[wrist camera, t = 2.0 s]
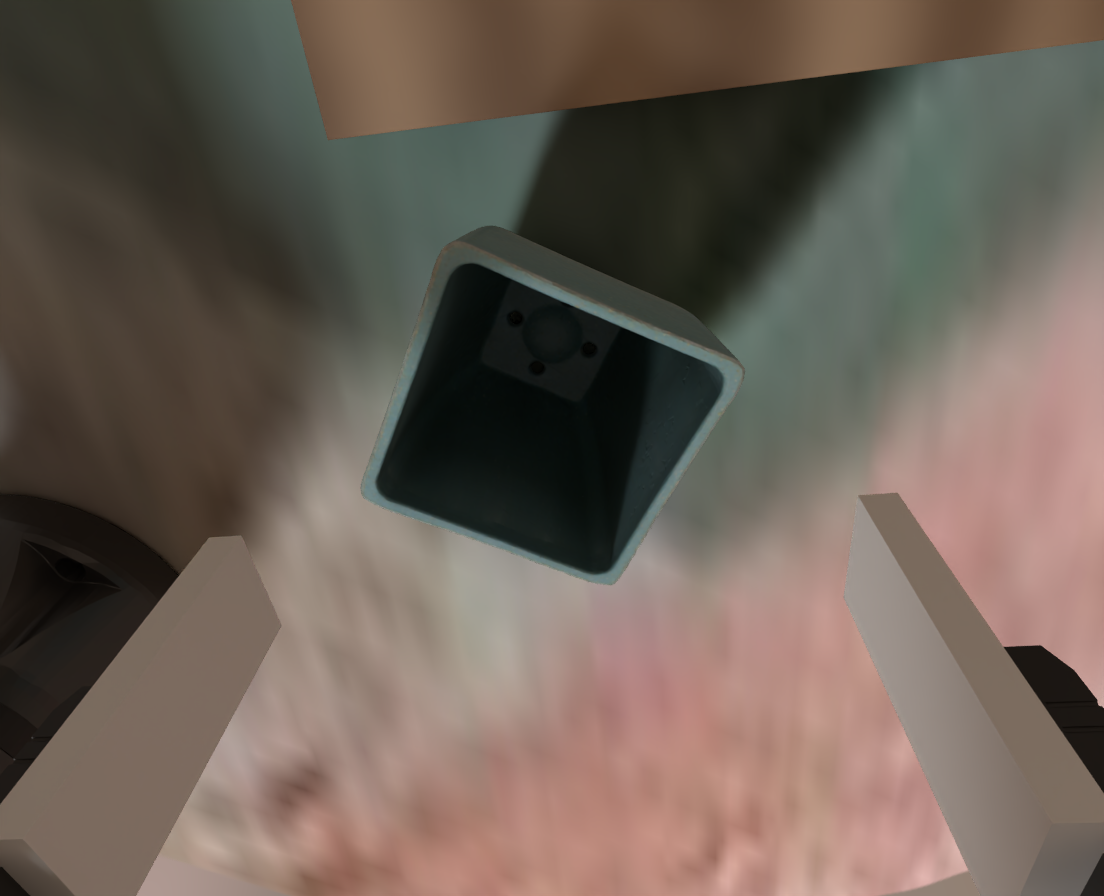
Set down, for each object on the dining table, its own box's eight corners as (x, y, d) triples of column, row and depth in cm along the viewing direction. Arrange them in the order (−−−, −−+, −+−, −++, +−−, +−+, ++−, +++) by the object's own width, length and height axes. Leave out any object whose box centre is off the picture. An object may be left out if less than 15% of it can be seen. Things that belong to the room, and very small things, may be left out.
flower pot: (487, 175, 24) (443, 235, 16) (703, 273, 26) (755, 369, 18) (416, 378, 28) (354, 501, 21) (604, 452, 30) (612, 592, 22)
